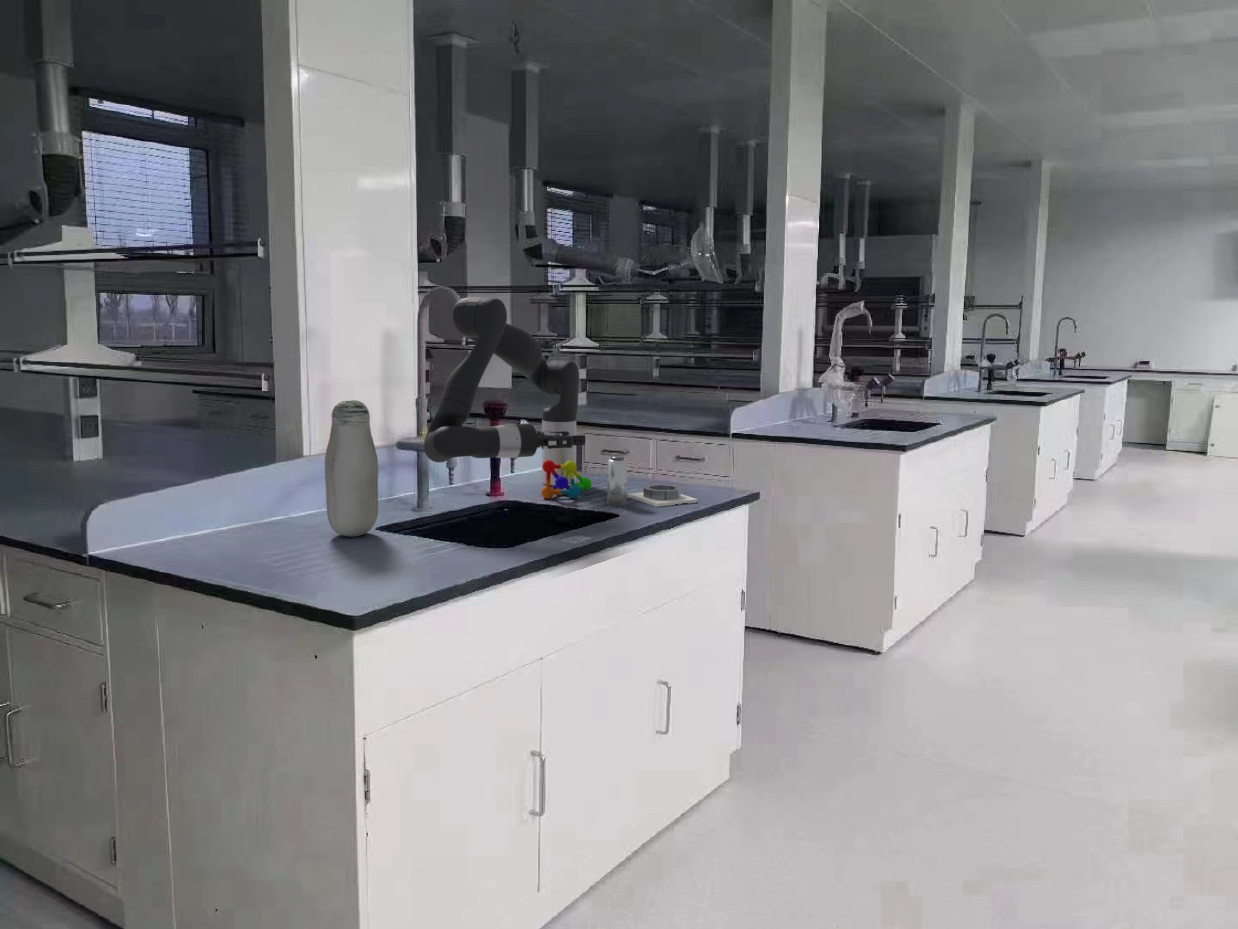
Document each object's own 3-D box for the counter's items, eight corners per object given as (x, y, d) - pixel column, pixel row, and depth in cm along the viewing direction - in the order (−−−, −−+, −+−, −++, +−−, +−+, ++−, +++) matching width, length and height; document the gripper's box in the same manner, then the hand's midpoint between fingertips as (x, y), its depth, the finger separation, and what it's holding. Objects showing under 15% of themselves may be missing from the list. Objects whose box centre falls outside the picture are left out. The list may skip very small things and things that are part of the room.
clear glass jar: (604, 503, 237) (604, 456, 236) (620, 501, 240) (620, 455, 238) (613, 506, 233) (613, 459, 232) (629, 505, 236) (630, 457, 234)
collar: (638, 494, 244) (638, 486, 244) (667, 492, 249) (667, 483, 248) (656, 501, 237) (656, 492, 237) (686, 498, 241) (686, 489, 241)
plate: (627, 496, 246) (627, 493, 246) (667, 492, 252) (667, 489, 252) (656, 506, 234) (656, 503, 234) (697, 502, 240) (697, 499, 240)
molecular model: (592, 514, 244) (558, 484, 234) (559, 517, 250) (525, 488, 239) (601, 475, 250) (569, 444, 239) (569, 479, 255) (536, 449, 245)
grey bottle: (357, 542, 195) (353, 403, 190) (317, 537, 199) (312, 401, 195) (388, 533, 204) (385, 399, 199) (350, 527, 208) (345, 397, 203)
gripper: (525, 427, 214) (590, 425, 222) (500, 421, 226) (563, 419, 234) (525, 461, 215) (590, 457, 223) (500, 453, 227) (562, 449, 235)
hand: (576, 437), depth 228 cm, fingers open, 8 cm apart
